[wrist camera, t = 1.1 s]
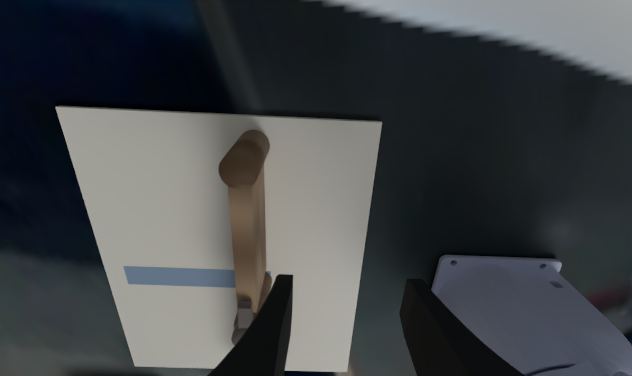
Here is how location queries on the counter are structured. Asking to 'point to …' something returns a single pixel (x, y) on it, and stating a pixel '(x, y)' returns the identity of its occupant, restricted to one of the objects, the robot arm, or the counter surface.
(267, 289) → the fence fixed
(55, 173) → the counter surface
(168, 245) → the board
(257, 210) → the swing rail
